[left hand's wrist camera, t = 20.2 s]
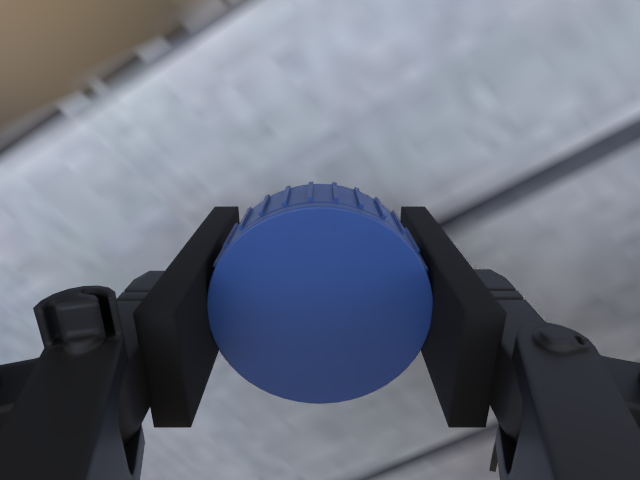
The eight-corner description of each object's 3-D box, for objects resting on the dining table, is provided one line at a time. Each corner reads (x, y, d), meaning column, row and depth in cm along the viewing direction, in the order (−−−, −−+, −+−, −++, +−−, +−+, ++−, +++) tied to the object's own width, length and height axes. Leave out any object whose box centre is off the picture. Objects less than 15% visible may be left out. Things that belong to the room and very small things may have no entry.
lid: (190, 215, 11) (164, 243, 9) (392, 153, 11) (407, 171, 9) (260, 375, 13) (251, 426, 11) (435, 331, 13) (456, 377, 11)
